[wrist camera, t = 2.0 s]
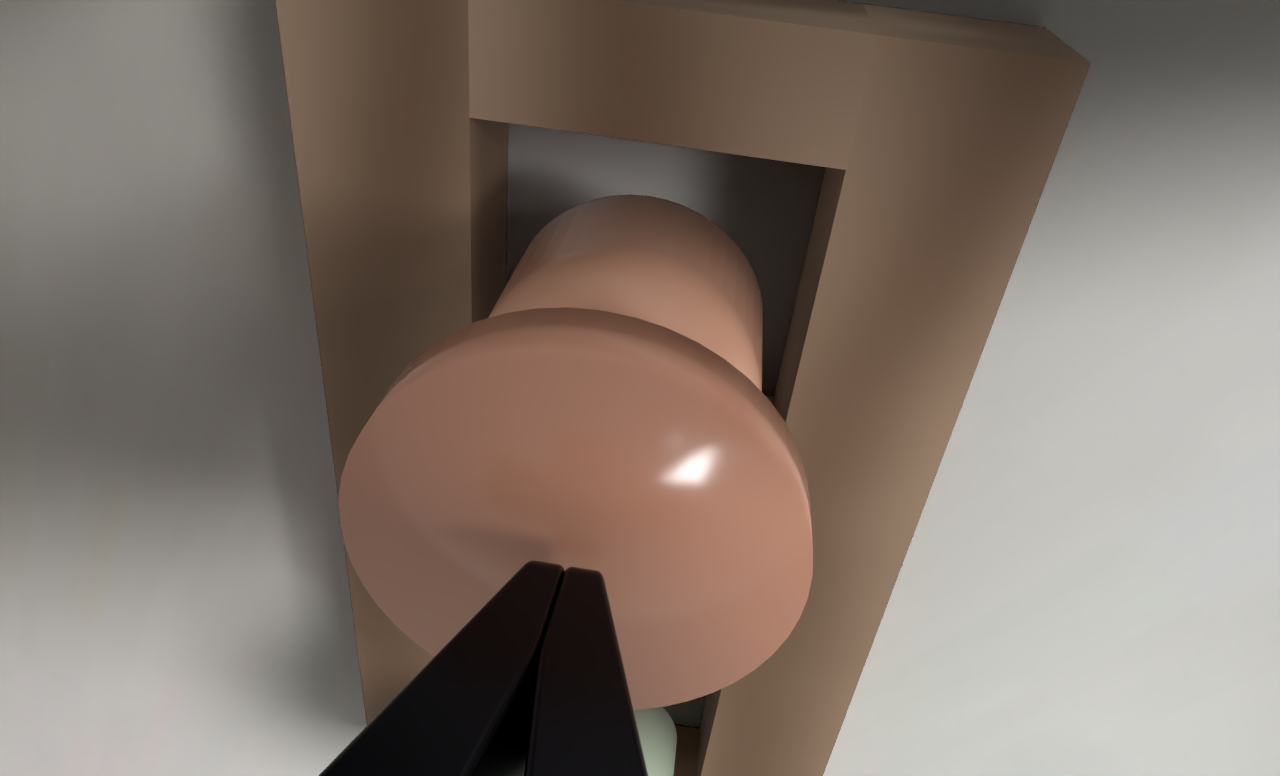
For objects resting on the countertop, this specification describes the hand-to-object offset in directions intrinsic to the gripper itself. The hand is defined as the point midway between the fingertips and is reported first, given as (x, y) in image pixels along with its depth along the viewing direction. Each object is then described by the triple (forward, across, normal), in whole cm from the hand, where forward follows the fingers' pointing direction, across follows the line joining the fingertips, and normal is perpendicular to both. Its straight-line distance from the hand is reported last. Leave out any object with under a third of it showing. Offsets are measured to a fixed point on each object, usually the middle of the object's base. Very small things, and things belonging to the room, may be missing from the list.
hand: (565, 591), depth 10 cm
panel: (+9, 0, +6) cm, 11 cm away
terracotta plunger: (+6, 0, 0) cm, 6 cm away
